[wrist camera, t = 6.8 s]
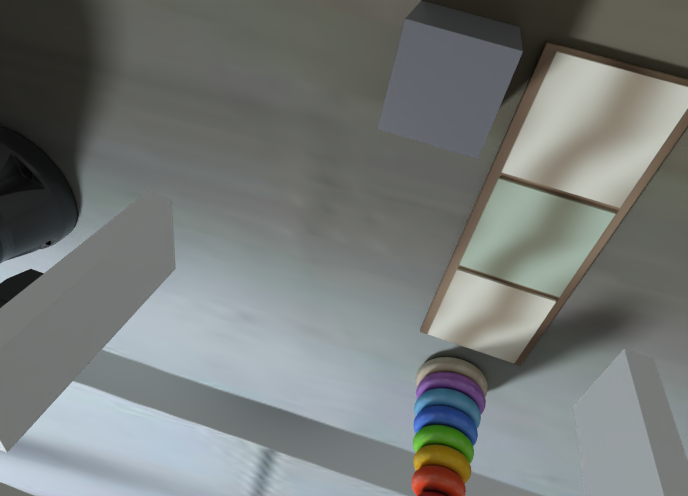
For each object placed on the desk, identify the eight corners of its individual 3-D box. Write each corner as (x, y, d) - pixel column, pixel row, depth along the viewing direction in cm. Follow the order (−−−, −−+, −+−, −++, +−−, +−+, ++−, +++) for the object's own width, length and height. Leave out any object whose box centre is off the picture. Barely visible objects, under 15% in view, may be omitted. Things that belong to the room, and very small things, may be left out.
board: (420, 327, 50) (419, 333, 50) (546, 41, 32) (547, 44, 31) (520, 361, 49) (520, 368, 49) (710, 85, 31) (715, 89, 30)
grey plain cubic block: (396, 96, 37) (377, 129, 31) (421, 0, 33) (405, 18, 27) (482, 121, 36) (477, 159, 31) (519, 26, 32) (522, 51, 26)
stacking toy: (409, 354, 53) (373, 521, 39) (480, 351, 50) (470, 533, 36) (426, 399, 57) (399, 566, 43) (493, 399, 54) (489, 581, 39)
